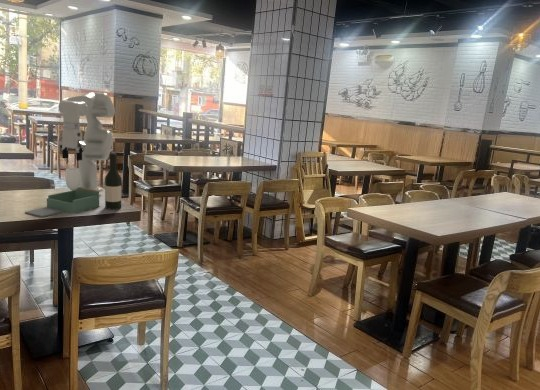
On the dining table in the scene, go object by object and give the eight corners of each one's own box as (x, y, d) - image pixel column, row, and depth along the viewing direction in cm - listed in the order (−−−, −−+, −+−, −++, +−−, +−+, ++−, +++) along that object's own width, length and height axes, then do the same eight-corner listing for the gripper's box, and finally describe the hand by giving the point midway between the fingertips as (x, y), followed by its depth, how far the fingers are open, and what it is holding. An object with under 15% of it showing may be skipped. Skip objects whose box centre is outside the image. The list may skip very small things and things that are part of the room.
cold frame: (74, 201, 245) (74, 186, 243) (99, 206, 238) (99, 190, 236) (46, 207, 228) (46, 191, 226) (72, 213, 221) (72, 196, 219)
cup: (67, 209, 228) (66, 170, 224) (64, 206, 234) (63, 167, 229) (82, 208, 232) (81, 169, 228) (79, 205, 238) (78, 167, 233)
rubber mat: (45, 208, 226) (45, 207, 226) (62, 212, 222) (62, 210, 222) (24, 213, 216) (24, 211, 215) (42, 217, 211) (42, 215, 211)
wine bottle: (120, 209, 234) (119, 154, 228) (103, 209, 233) (103, 153, 227) (122, 205, 242) (122, 152, 236) (106, 205, 241) (106, 151, 235)
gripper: (90, 127, 224) (90, 160, 227) (65, 124, 230) (65, 156, 234) (78, 127, 217) (79, 161, 220) (53, 124, 224) (54, 158, 227)
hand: (72, 159), depth 227 cm, fingers open, 9 cm apart
